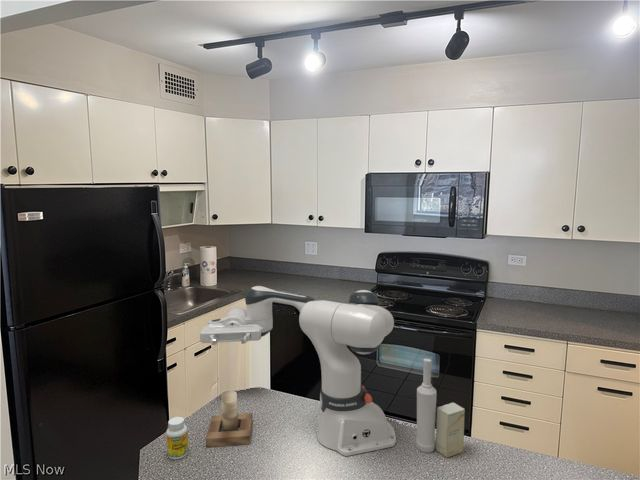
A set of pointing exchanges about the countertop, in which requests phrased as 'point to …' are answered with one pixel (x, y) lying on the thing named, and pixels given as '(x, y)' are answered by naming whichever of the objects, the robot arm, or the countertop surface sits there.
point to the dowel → (229, 411)
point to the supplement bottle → (177, 438)
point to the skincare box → (450, 429)
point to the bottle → (426, 411)
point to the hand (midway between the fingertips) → (228, 341)
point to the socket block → (229, 432)
